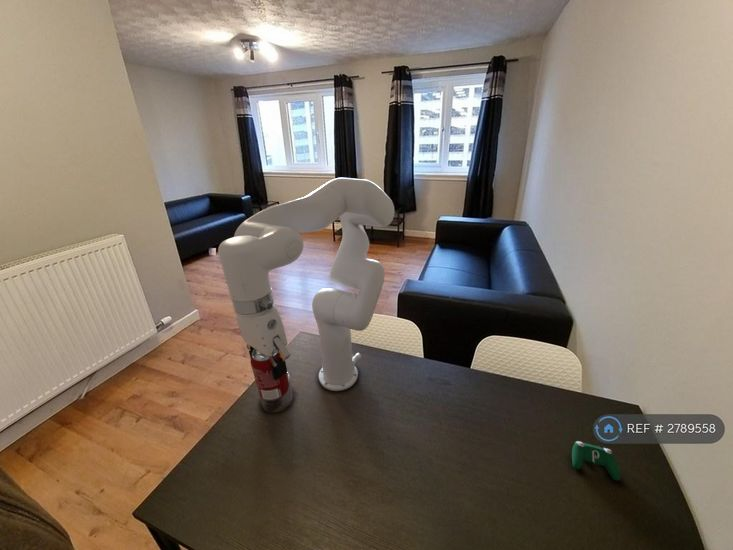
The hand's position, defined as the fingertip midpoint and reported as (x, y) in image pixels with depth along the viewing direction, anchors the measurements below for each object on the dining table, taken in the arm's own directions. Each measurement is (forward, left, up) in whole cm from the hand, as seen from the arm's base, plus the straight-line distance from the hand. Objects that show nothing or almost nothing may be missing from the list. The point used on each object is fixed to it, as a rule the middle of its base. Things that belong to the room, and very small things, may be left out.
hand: (269, 367), depth 67 cm
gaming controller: (-41, +62, -25) cm, 79 cm away
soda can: (0, 0, -7) cm, 7 cm away
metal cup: (-7, -13, -25) cm, 29 cm away
